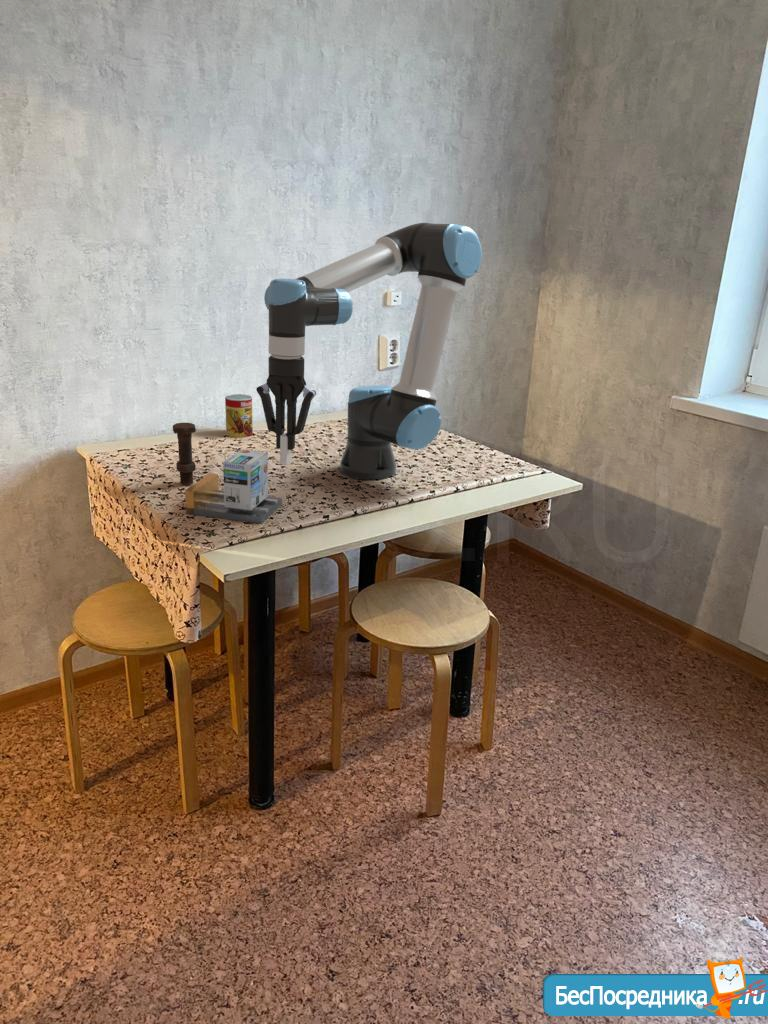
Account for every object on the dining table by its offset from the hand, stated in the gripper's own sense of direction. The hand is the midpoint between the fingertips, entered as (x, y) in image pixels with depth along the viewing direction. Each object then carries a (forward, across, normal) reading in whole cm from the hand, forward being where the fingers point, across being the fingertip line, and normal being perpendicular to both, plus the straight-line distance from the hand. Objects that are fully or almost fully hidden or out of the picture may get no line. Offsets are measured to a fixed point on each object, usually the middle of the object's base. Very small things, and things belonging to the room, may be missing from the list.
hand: (285, 463), depth 170 cm
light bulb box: (+11, +9, 0) cm, 14 cm away
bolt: (+13, +30, -12) cm, 35 cm away
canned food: (+12, +35, -57) cm, 68 cm away
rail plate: (+13, +12, 0) cm, 18 cm away
